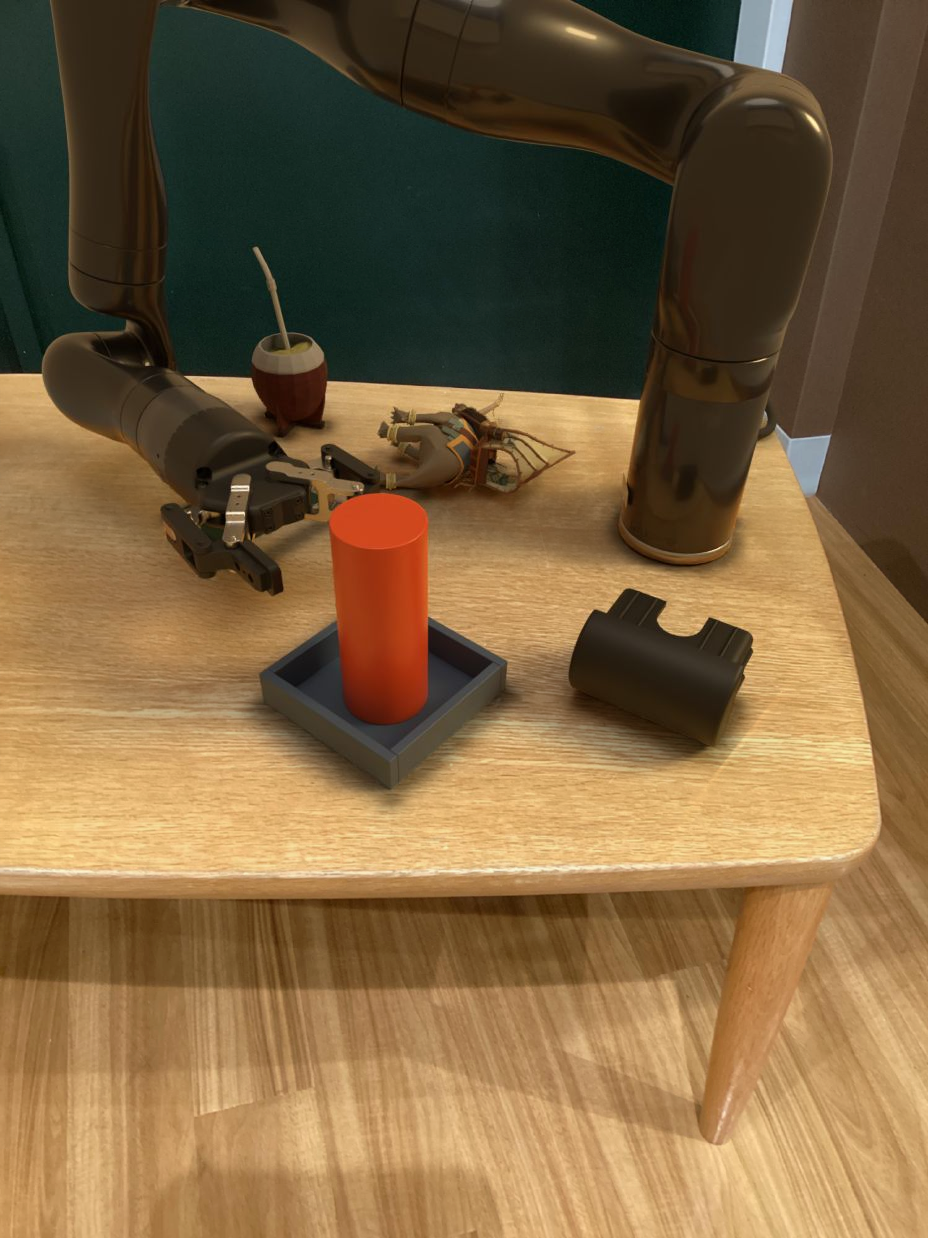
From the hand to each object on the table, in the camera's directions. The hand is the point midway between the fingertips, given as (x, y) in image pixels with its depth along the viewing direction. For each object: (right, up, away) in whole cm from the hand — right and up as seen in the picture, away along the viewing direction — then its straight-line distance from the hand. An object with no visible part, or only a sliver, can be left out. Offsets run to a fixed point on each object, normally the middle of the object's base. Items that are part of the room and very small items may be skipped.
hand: (336, 556), depth 59 cm
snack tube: (+3, -9, +3) cm, 10 cm away
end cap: (+21, -10, +3) cm, 23 cm away
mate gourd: (-9, +15, +32) cm, 36 cm away
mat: (-9, +5, +19) cm, 22 cm away
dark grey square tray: (+3, -9, +3) cm, 10 cm away
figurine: (+9, +9, +25) cm, 28 cm away
